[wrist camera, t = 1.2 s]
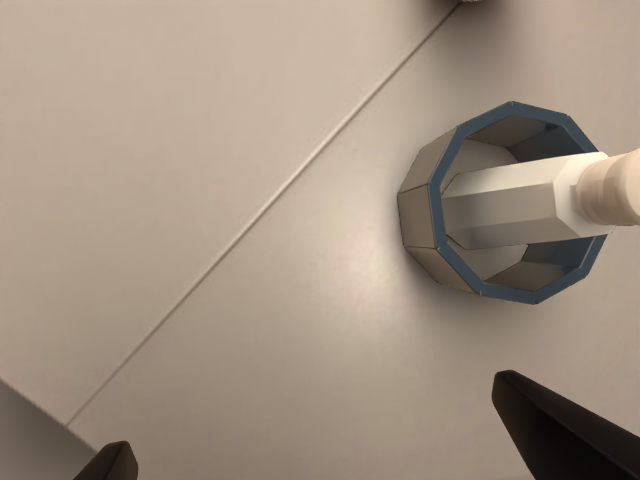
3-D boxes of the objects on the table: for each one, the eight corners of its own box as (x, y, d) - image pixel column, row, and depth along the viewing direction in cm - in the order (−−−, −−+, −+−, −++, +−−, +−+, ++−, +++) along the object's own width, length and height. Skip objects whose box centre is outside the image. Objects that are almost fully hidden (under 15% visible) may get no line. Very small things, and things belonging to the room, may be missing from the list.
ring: (572, 244, 23) (642, 246, 19) (437, 317, 22) (477, 338, 18) (512, 105, 22) (570, 72, 18) (369, 172, 21) (393, 156, 17)
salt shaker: (501, 260, 22) (711, 282, 12) (427, 239, 22) (574, 242, 11) (521, 182, 23) (748, 131, 12) (447, 159, 22) (614, 82, 11)
